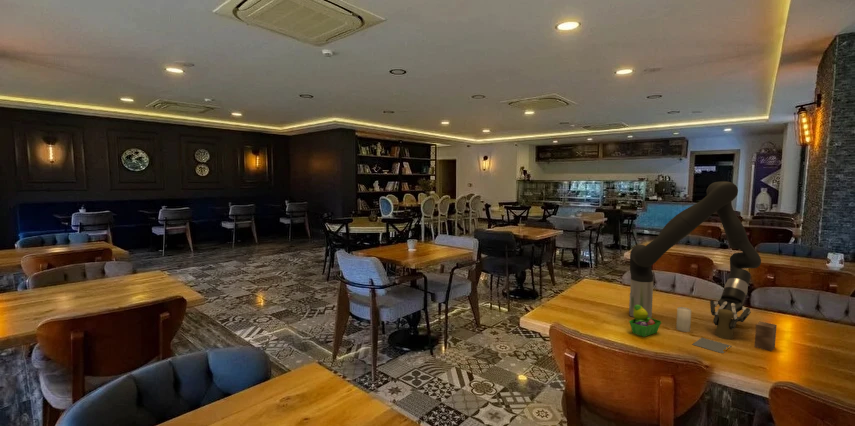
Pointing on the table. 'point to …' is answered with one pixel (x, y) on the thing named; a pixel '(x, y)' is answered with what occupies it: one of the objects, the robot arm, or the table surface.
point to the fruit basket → (643, 322)
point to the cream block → (683, 319)
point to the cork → (724, 324)
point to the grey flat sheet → (711, 345)
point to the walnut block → (765, 336)
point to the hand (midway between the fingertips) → (723, 326)
